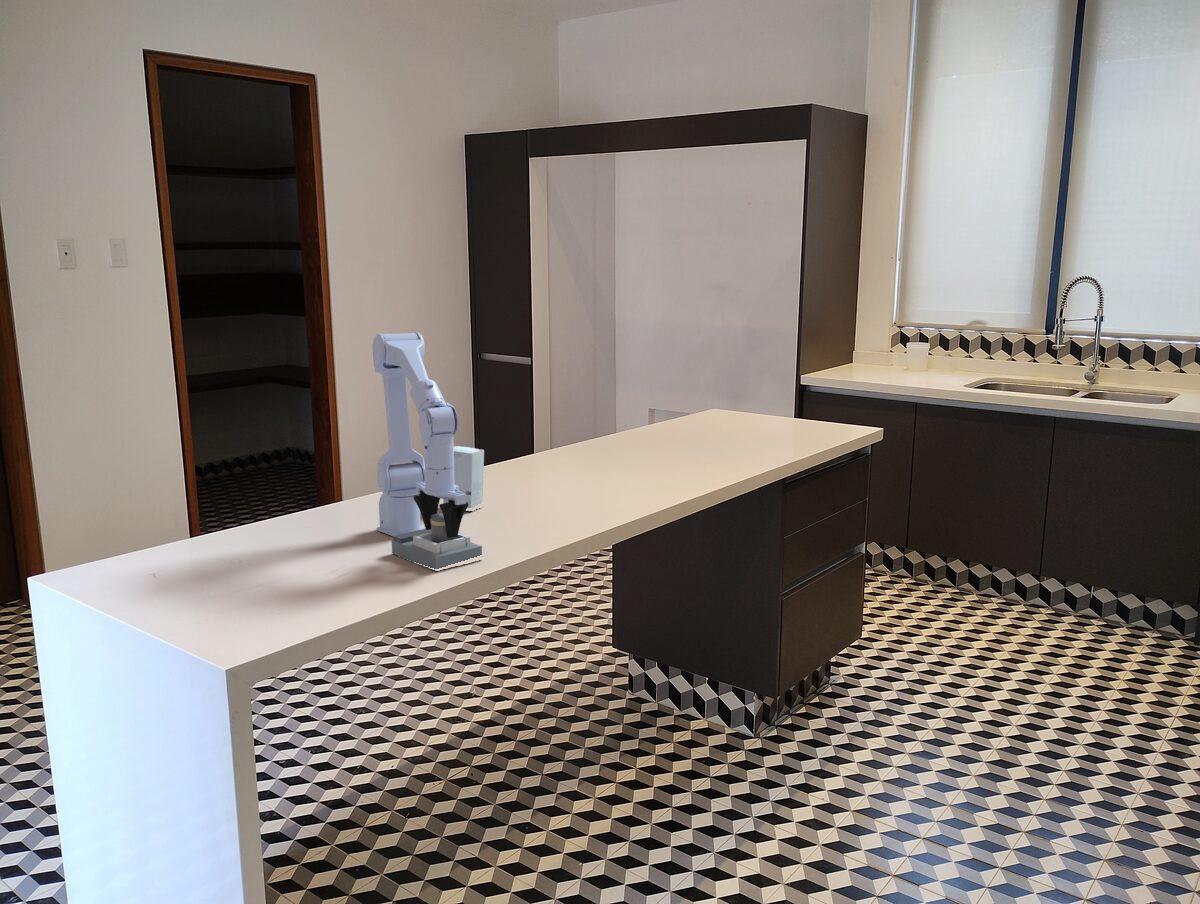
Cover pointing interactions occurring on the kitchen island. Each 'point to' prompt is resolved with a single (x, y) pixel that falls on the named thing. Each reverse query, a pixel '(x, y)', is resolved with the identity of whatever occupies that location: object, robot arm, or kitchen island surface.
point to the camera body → (434, 549)
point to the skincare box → (469, 473)
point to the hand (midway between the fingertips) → (441, 532)
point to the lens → (439, 529)
